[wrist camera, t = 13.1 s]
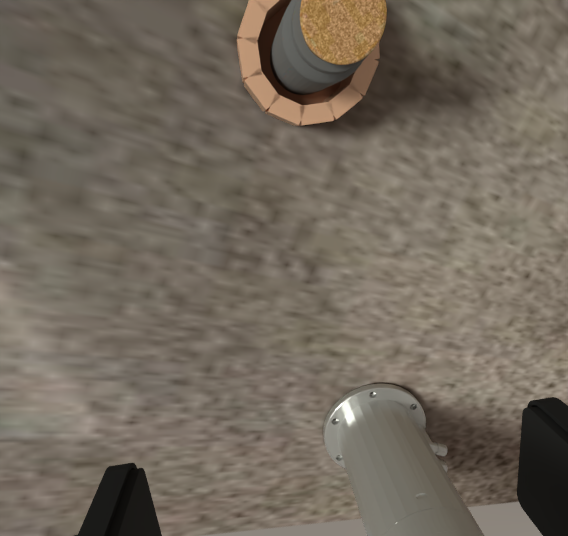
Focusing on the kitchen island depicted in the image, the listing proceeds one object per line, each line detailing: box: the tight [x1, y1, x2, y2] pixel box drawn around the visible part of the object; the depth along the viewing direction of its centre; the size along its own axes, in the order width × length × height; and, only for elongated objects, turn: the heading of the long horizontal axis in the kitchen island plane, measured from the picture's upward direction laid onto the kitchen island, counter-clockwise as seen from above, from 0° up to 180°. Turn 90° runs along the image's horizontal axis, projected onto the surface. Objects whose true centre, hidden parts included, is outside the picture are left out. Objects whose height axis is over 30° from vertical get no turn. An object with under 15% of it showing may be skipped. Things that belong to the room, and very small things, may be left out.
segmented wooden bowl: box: [237, 0, 380, 126], centre depth 34 cm, size 11×11×5 cm
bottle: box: [270, 0, 387, 95], centre depth 29 cm, size 6×6×15 cm
